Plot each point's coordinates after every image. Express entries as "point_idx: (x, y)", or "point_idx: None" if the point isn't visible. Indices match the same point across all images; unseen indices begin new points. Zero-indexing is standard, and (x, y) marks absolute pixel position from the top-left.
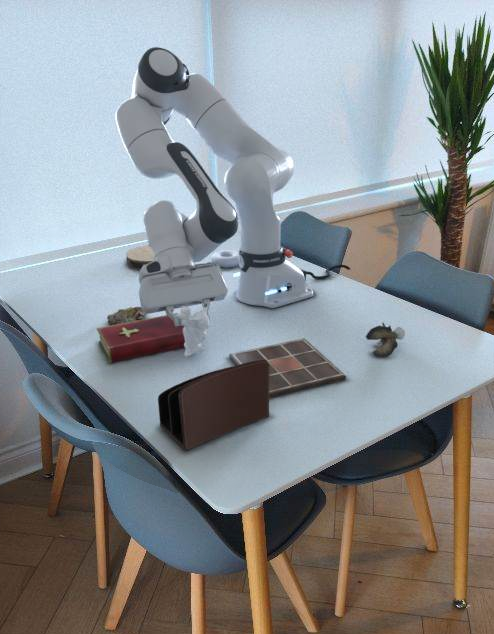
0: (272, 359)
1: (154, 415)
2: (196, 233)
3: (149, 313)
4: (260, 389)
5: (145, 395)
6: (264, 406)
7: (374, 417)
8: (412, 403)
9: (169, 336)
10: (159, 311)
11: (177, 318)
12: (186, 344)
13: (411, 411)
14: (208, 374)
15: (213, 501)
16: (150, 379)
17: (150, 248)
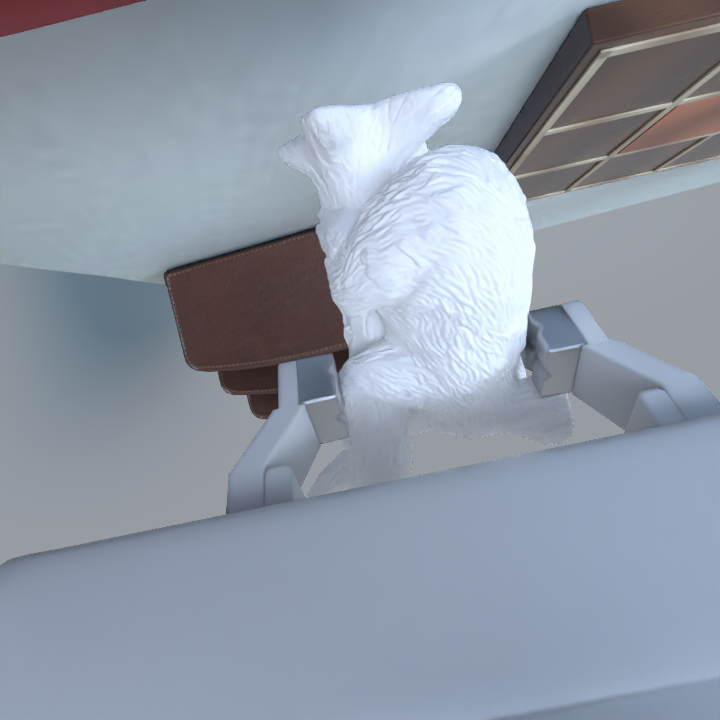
0: (702, 97)
1: (134, 256)
2: None
3: (40, 554)
4: None
5: (62, 222)
6: None
7: (607, 204)
8: (714, 178)
9: (120, 4)
10: (157, 533)
11: (318, 434)
12: (318, 214)
13: (679, 190)
14: (331, 350)
15: None
16: (33, 163)
17: None
